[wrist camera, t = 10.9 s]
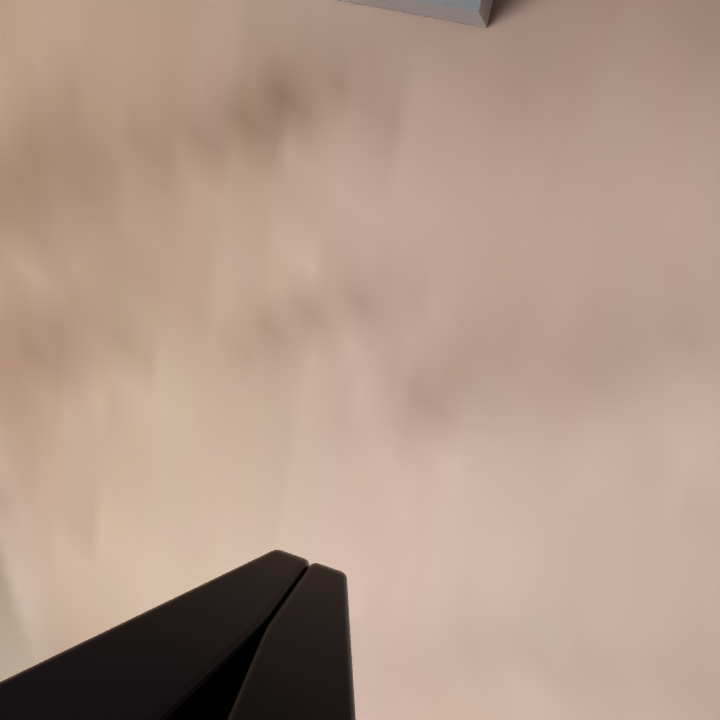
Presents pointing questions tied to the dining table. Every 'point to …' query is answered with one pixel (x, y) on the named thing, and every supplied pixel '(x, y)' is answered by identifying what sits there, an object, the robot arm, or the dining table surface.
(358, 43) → the dining table surface
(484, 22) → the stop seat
